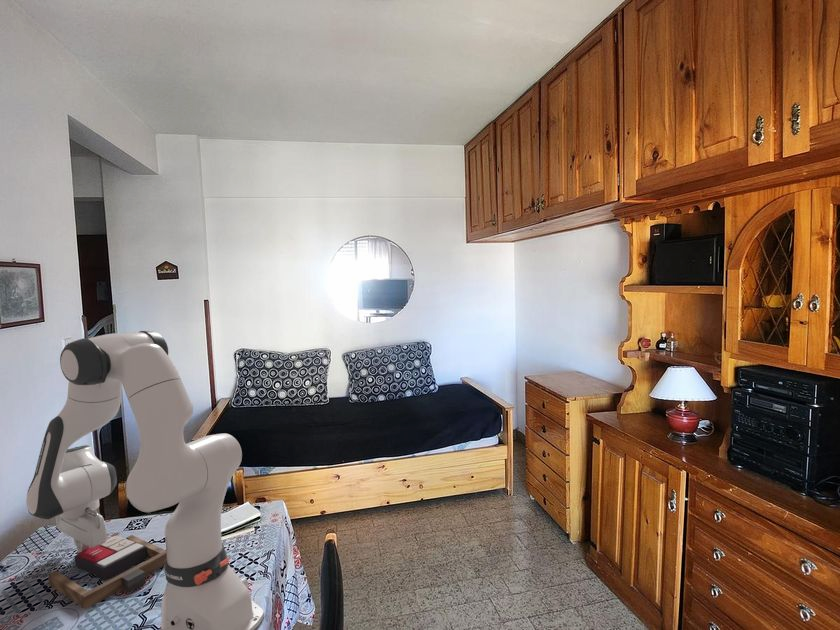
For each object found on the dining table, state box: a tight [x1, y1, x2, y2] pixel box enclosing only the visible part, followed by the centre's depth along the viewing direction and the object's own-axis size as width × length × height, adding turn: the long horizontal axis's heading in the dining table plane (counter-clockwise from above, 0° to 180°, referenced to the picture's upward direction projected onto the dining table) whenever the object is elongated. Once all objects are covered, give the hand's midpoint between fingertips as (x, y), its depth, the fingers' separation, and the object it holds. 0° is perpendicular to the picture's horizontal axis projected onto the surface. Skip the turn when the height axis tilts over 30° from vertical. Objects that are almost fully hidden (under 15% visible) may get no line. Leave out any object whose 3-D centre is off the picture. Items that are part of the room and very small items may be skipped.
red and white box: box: [73, 535, 148, 582], centre depth 123 cm, size 11×4×15 cm
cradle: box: [48, 534, 167, 610], centre depth 117 cm, size 22×20×3 cm
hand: (83, 552), depth 126 cm, fingers closed
